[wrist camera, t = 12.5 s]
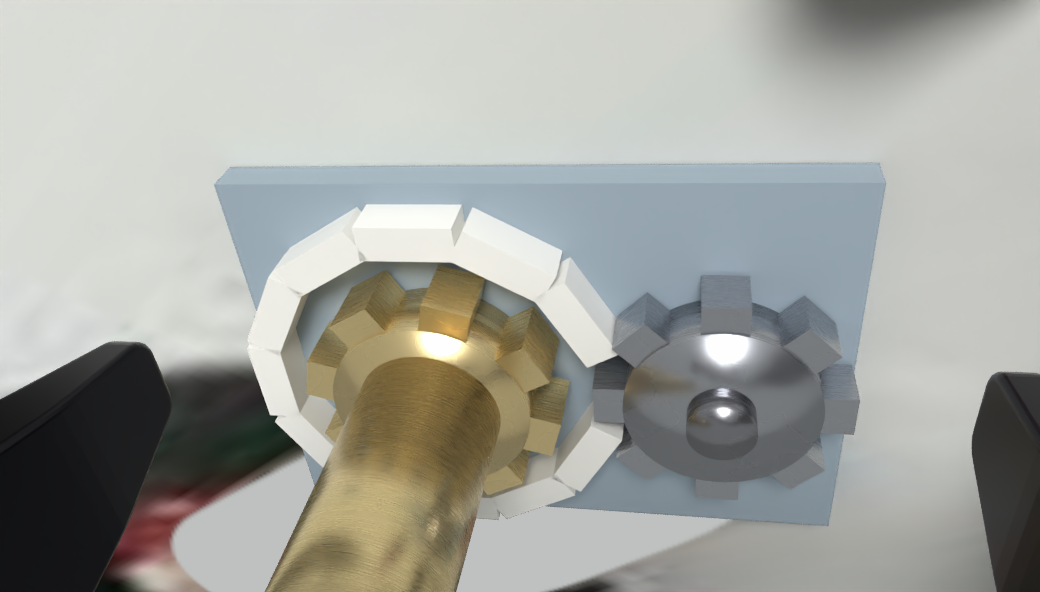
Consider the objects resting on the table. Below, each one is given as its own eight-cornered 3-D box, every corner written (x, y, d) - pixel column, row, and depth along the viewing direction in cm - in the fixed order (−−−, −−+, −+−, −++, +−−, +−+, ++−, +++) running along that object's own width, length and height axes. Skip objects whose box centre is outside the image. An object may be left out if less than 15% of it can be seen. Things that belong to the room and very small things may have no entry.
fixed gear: (866, 275, 21) (882, 335, 20) (834, 467, 25) (845, 532, 23) (593, 270, 23) (582, 326, 21) (603, 454, 27) (595, 514, 25)
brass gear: (469, 223, 22) (266, 711, 12) (615, 406, 25) (549, 922, 15) (281, 322, 26) (-2, 771, 15) (429, 474, 29) (273, 934, 18)
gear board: (879, 162, 21) (895, 208, 19) (824, 501, 28) (832, 557, 26) (230, 167, 24) (192, 206, 22) (326, 468, 31) (303, 517, 29)
